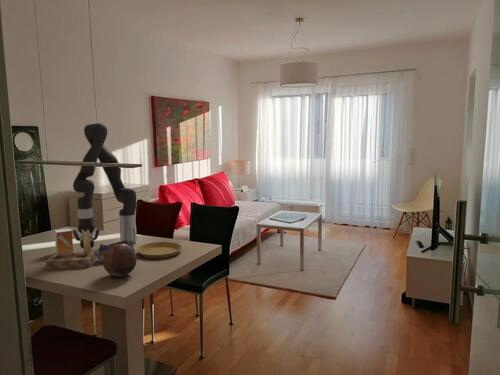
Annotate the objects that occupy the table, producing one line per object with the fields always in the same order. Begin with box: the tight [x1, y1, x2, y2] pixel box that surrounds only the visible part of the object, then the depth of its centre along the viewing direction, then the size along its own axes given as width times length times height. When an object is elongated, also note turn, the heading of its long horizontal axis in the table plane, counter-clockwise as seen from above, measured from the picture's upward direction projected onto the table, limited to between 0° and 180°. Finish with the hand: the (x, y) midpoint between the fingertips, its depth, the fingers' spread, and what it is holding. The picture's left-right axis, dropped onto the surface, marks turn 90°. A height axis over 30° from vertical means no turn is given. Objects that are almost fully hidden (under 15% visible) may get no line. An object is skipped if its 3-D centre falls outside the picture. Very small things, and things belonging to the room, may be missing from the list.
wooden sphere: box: [102, 244, 138, 278], centre depth 183 cm, size 15×15×15 cm
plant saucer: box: [136, 241, 182, 260], centre depth 219 cm, size 24×24×3 cm
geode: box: [96, 240, 136, 264], centre depth 210 cm, size 20×12×10 cm, turn 142°
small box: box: [54, 228, 74, 254], centre depth 218 cm, size 8×6×13 cm
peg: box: [82, 231, 93, 253], centre depth 212 cm, size 4×4×14 cm
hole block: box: [45, 251, 96, 270], centre depth 200 cm, size 20×12×4 cm, turn 100°
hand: (87, 247), depth 213 cm, fingers closed on peg, 4 cm apart
